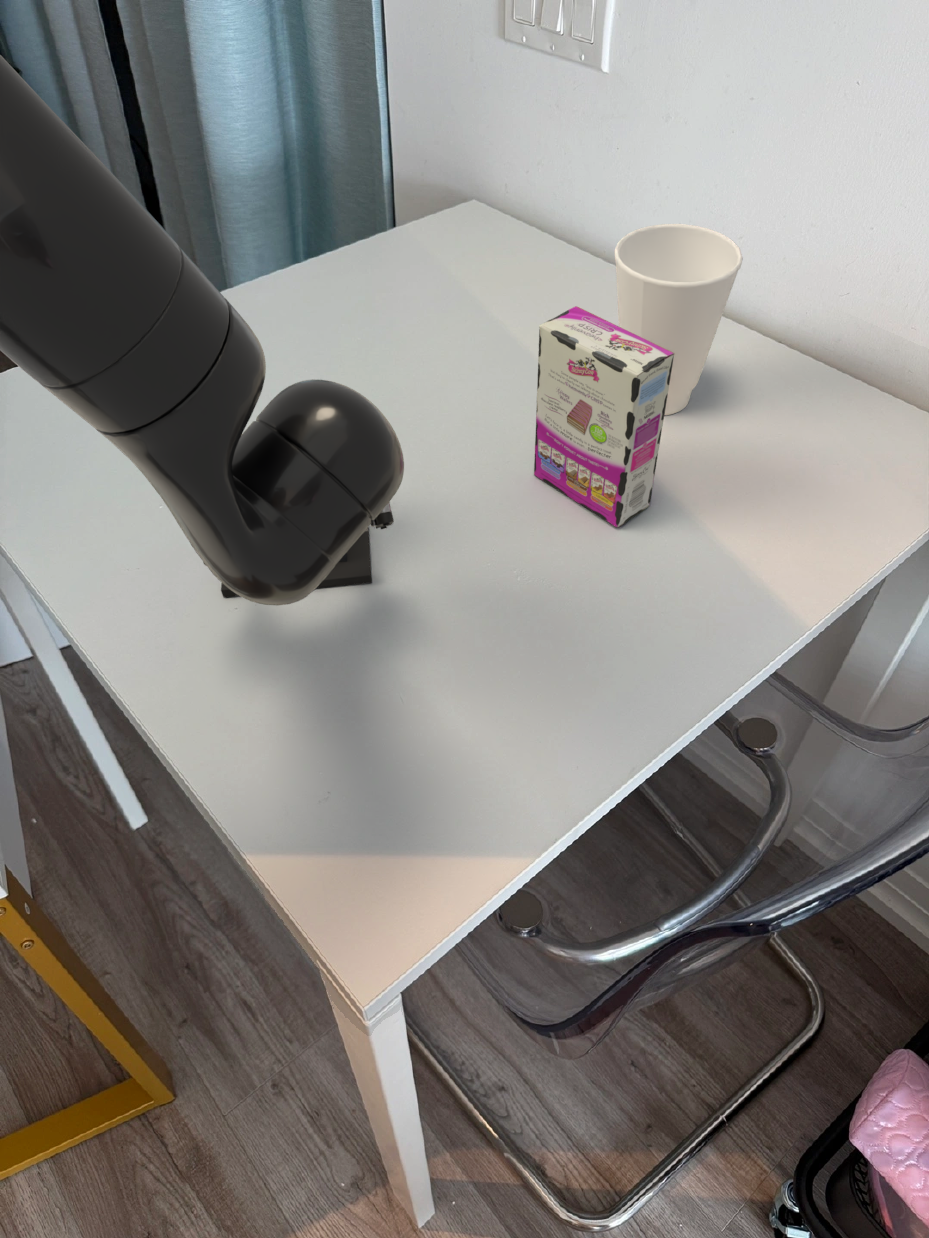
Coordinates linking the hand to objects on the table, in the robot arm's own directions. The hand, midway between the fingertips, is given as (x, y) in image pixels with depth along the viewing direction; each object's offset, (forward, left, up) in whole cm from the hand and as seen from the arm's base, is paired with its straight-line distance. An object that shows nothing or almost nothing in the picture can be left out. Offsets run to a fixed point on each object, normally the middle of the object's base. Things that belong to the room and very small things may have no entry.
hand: (296, 533), depth 74 cm
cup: (+37, +24, -7) cm, 45 cm away
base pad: (-1, +7, -7) cm, 10 cm away
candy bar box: (+27, +10, -7) cm, 30 cm away
